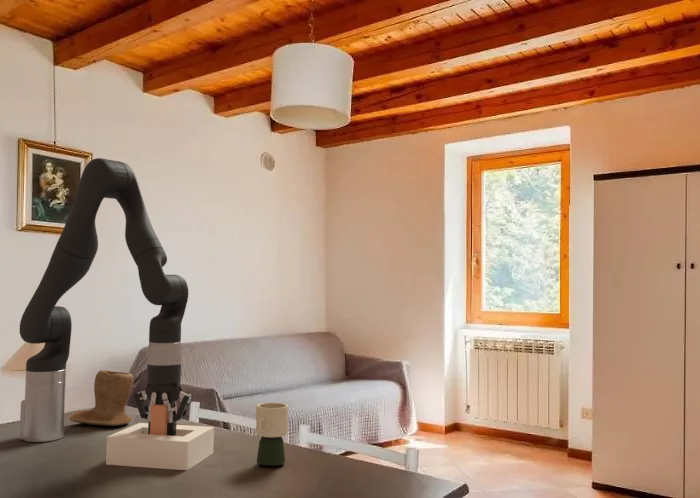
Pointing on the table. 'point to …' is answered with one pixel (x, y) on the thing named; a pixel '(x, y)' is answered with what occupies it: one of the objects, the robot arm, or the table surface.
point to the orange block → (158, 419)
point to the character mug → (271, 432)
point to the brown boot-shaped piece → (108, 400)
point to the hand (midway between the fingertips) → (162, 437)
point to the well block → (160, 447)
